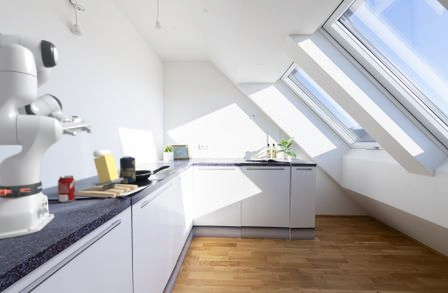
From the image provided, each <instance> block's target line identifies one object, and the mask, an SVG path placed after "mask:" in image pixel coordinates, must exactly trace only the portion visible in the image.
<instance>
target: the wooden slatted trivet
mask: <svg viewBox="0 0 448 293" xmlns="http://www.w3.org/2000/svg"><path fill="white" fill-rule="evenodd" d="M138 187H139V186H138V185H137V184H124V183H121V184H118V183H115V182H113V183H109V184H105V185H102V186H98V187H96V185H95V186H93V187H90V188H85V189H82V190H79V191H75V196H76V197H92V198H93V197H94V198H108V197H111V198H112V199H115V198H117V197H119V196H118V195H120V194H122V195H124V194H123V193H125V192H127V193H129V192H128V191H130V192H132V191H135V190H137V188H138ZM134 189H135V190H134ZM131 190H132V191H131ZM125 194H126V193H125ZM116 196H117V197H116ZM120 196H121V195H120ZM111 198H110V199H111Z"/></svg>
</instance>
